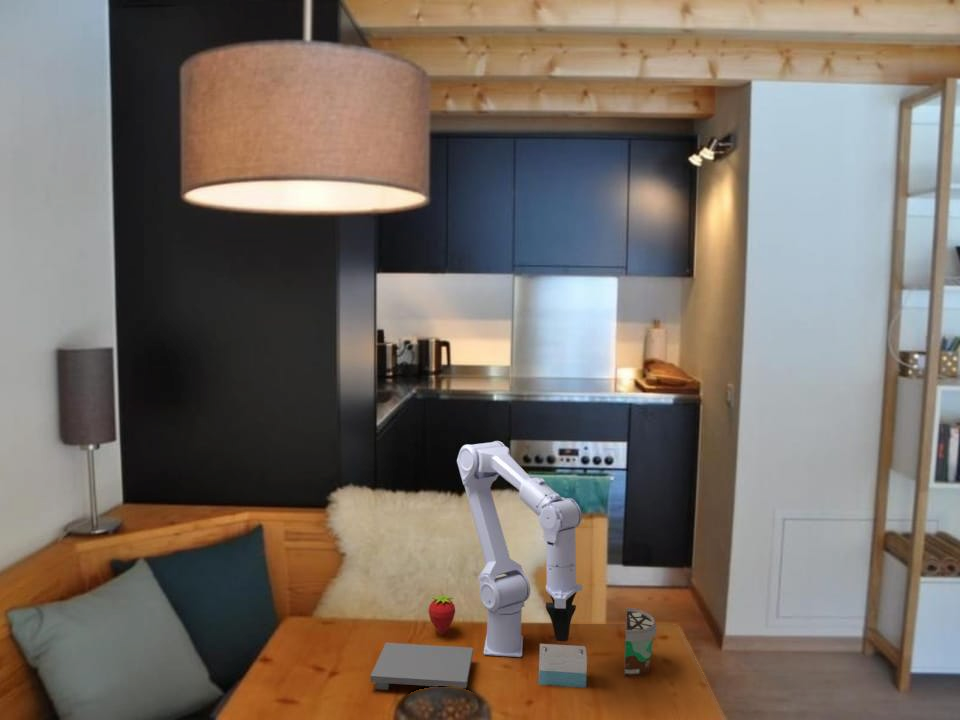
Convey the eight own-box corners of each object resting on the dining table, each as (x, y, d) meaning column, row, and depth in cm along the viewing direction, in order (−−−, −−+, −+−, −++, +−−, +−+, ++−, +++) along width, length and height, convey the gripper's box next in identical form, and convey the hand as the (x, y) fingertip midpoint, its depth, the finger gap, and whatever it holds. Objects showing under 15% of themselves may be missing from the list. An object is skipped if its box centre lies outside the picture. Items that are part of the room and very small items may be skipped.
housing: (538, 672, 147) (539, 642, 147) (584, 675, 147) (585, 644, 146) (538, 685, 143) (539, 653, 142) (585, 688, 142) (587, 656, 141)
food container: (656, 684, 144) (658, 634, 143) (624, 680, 145) (626, 630, 144) (654, 655, 156) (656, 609, 155) (624, 652, 157) (626, 606, 156)
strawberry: (426, 641, 160) (427, 596, 159) (429, 626, 167) (430, 583, 167) (454, 642, 160) (455, 597, 159) (455, 627, 167) (456, 584, 167)
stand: (385, 656, 152) (385, 642, 152) (472, 662, 151) (472, 647, 151) (370, 691, 138) (370, 675, 138) (465, 697, 137) (466, 682, 137)
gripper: (581, 574, 135) (583, 648, 136) (582, 553, 150) (583, 620, 150) (543, 573, 137) (544, 647, 137) (547, 552, 151) (548, 618, 151)
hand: (562, 633), depth 143 cm, fingers open, 7 cm apart
